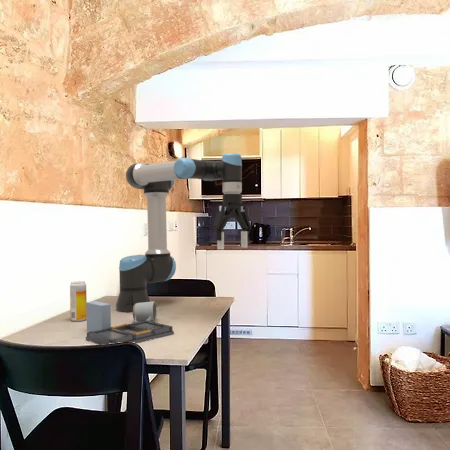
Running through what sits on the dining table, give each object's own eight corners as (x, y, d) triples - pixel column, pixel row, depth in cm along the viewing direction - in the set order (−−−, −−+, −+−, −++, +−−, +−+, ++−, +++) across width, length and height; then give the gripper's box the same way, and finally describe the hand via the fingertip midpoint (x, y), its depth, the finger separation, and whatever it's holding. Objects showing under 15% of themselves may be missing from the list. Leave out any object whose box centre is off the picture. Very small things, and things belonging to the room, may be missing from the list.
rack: (85, 339, 151) (85, 331, 151) (145, 327, 168) (145, 319, 168) (113, 348, 140) (112, 339, 140) (173, 334, 157) (173, 325, 157)
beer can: (89, 319, 183) (89, 281, 183) (80, 322, 178) (79, 283, 178) (77, 318, 185) (76, 280, 185) (67, 321, 180) (66, 282, 180)
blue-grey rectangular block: (86, 330, 164) (86, 302, 164) (95, 328, 167) (95, 301, 167) (102, 334, 157) (101, 305, 157) (110, 333, 160) (110, 304, 160)
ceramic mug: (136, 319, 182) (135, 300, 181) (157, 319, 181) (156, 299, 181) (130, 326, 171) (130, 305, 171) (152, 325, 171) (152, 305, 171)
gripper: (216, 192, 167) (217, 250, 167) (260, 194, 185) (260, 247, 186) (202, 193, 172) (203, 249, 173) (245, 195, 191) (246, 246, 191)
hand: (232, 248), depth 179 cm, fingers open, 13 cm apart
